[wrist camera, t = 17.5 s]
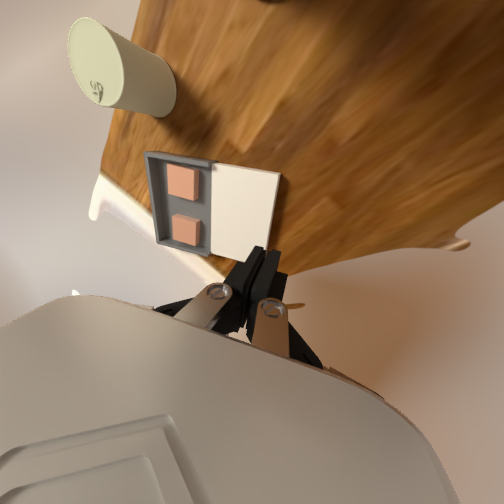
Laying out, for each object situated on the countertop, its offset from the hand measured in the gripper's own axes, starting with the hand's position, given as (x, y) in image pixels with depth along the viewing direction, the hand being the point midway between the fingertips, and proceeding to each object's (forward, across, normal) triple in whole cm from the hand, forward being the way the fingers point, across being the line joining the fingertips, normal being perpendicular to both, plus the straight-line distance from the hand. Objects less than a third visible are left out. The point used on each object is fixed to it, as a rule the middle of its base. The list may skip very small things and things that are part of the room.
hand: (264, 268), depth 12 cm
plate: (+29, +10, +8) cm, 32 cm away
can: (+29, +30, -13) cm, 44 cm away
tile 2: (+28, +23, +13) cm, 39 cm away
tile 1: (+28, +23, +2) cm, 36 cm away
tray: (+29, +24, +8) cm, 39 cm away
